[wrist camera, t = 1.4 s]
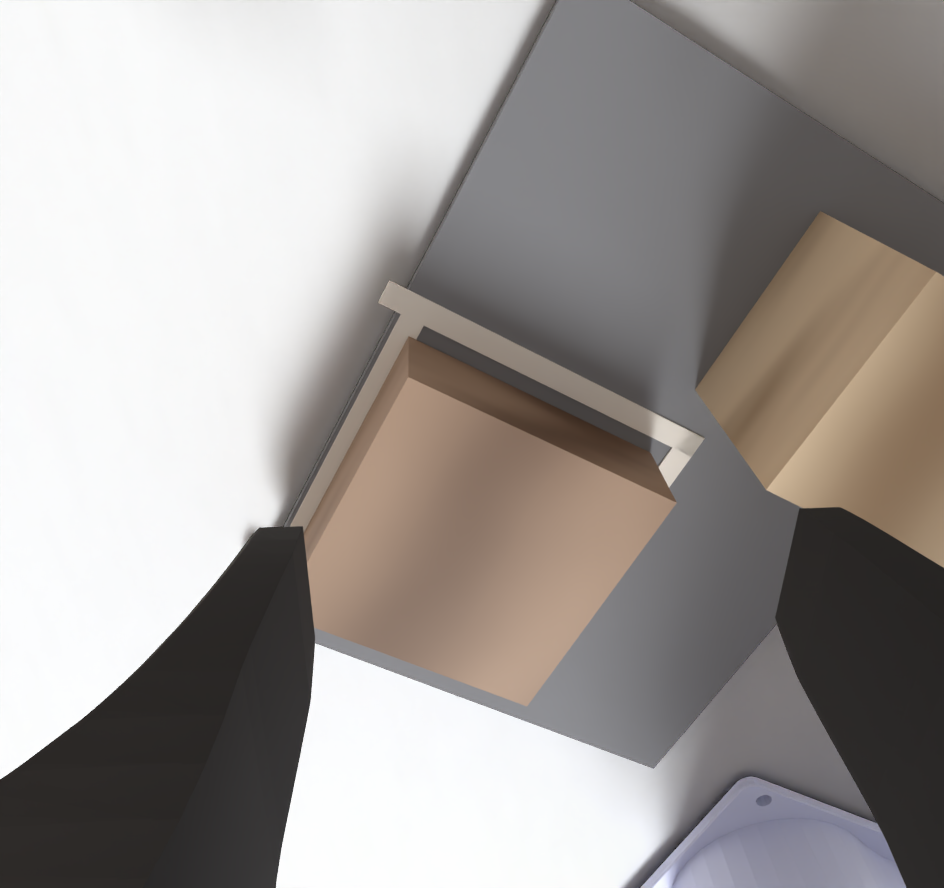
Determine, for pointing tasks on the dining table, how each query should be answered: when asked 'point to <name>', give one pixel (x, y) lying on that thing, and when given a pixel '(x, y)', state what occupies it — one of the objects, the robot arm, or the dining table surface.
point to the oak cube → (843, 384)
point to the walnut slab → (476, 526)
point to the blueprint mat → (635, 332)
